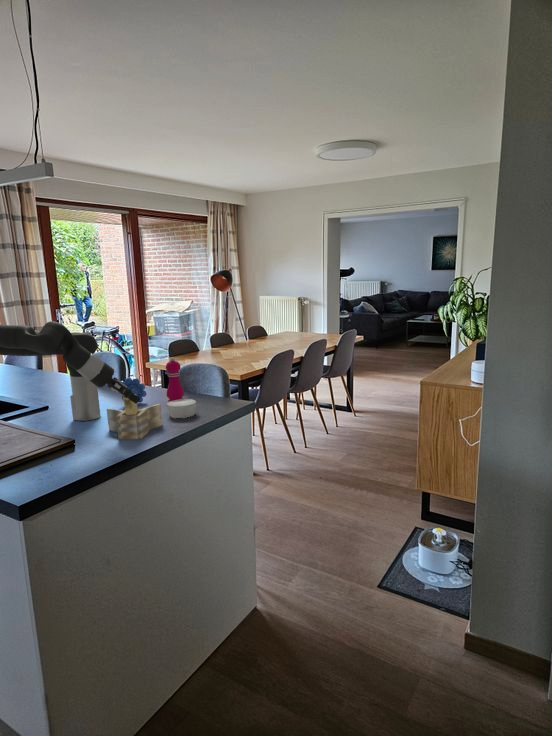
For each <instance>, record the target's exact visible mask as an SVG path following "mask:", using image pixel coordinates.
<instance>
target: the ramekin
mask: <svg viewBox="0 0 552 736" xmlns="http://www.w3.org/2000/svg"><path fill="white" fill-rule="evenodd" d="M196 405H197V401H196V400H194V399H190V398H182V399H180V400H174V401H170V402H167V403H166V407H167V410H168V414H169V417H170V418H172V419H176V418H182V419H187V417H189V418H191V417H193V416H194V415H195V413H196V409H197V408H196V407H197V406H196ZM190 416H191V417H190Z"/></svg>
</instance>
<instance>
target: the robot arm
mask: <svg viewBox="0 0 552 736" xmlns="http://www.w3.org/2000/svg"><path fill="white" fill-rule="evenodd" d="M97 349H98V342H97V340H96V338H95V337H94V336H92V335H91V334H89V333H87V332H86V333H85V332H70V330H69V329H68V328H67V327H66V326H65V325H64V324H63V323H60V322H57V321H53V320H52V321H47V322H46V323H45V324H44V325H43V327H42V328H41V330H38V329H34V328H33V327H32V326H29V325H20V324H19V325H14V324H13V325H11V324H10V325H9V324H0V356H10V357H11V356H13V357H43V356H54V355H55V356H57V355H59V356H62V361H63V362H64V363H65V365H66V368H67V370H68V372H69V380H70V387H71V393H72V394H71V395H69V396H70V397H69V398H70V405H71V413H72V420H73V421H77V420H78V421H80V422H83V421H84V422H88V421H94V420H97V419H99V418H100V417H101V407H100V399H99V388H100V389H101V388H103V387H105V386H106V387H107V388H109V389H110V390H111V391H113V392H115V393H117V394H118V395H120V396H123V395H124V396H125V397H126V398H128V399H130V400H131V401H132V402H134V403H135V404H137V405H138V403H139V400H140V398H139V397H137V396H136V395H135V394H133V393H132V392H131V390H129V389H127V386H126V385H124V384H123V383H121V381H122V380H120V379H119V378H117V377H113V376H114V374H115V369H114V368H113V367H112V366H110V365H109V364H107V363H106V361H104V360H102V359H101V358H100V357H98V356H97V355H95V353H96V352H97ZM78 421H77V422H78Z"/></svg>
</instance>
